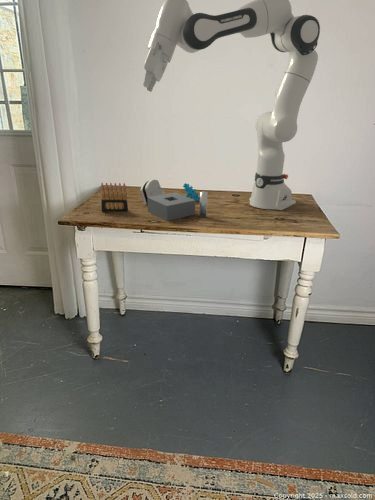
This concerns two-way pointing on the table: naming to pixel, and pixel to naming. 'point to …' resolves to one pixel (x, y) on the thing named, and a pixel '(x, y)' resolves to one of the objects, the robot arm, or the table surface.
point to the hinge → (150, 190)
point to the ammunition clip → (114, 199)
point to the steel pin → (203, 204)
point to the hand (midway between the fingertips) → (147, 89)
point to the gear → (191, 192)
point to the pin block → (171, 206)
